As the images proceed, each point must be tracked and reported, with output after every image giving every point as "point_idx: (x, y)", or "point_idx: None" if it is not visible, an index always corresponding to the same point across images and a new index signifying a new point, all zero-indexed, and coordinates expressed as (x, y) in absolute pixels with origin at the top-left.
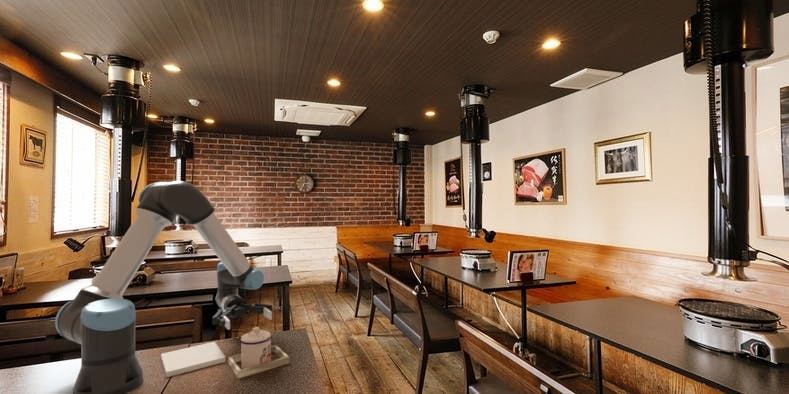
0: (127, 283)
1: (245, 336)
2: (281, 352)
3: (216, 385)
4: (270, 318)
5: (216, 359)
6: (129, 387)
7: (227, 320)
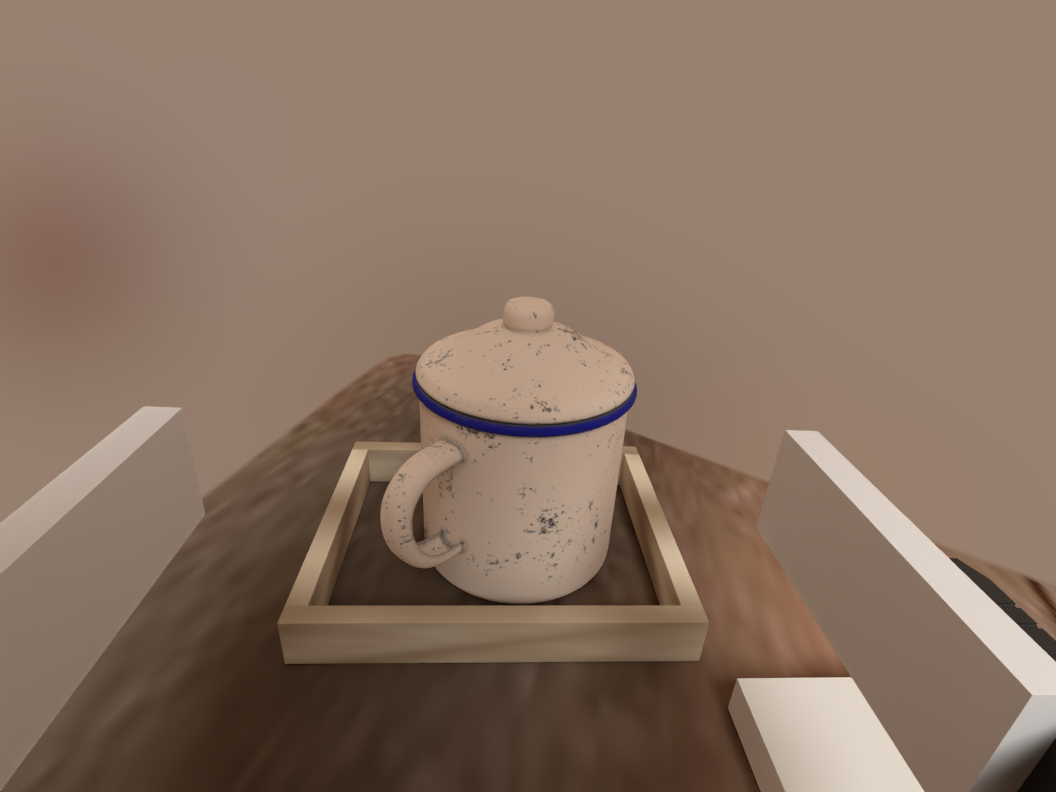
0: None
1: (604, 356)
2: (350, 494)
3: (730, 477)
4: (188, 496)
5: (810, 680)
6: None
7: (834, 455)
